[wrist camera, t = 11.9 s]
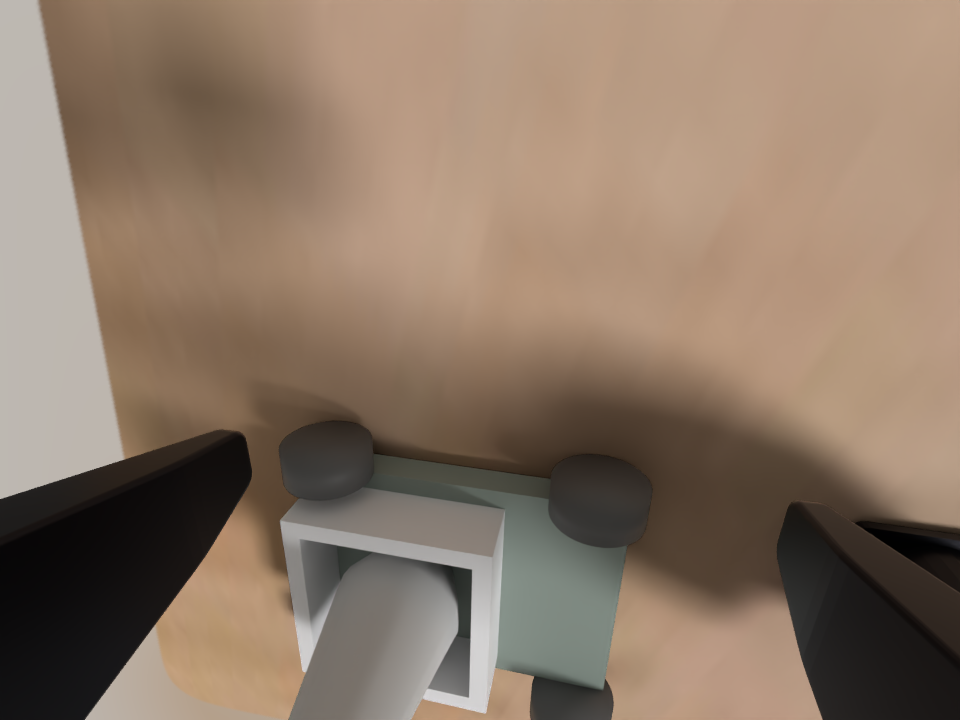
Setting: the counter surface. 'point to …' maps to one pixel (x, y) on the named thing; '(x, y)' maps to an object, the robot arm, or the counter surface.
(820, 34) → the counter surface
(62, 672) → the robot arm
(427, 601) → the salt shaker
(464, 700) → the toy wheeled cart
